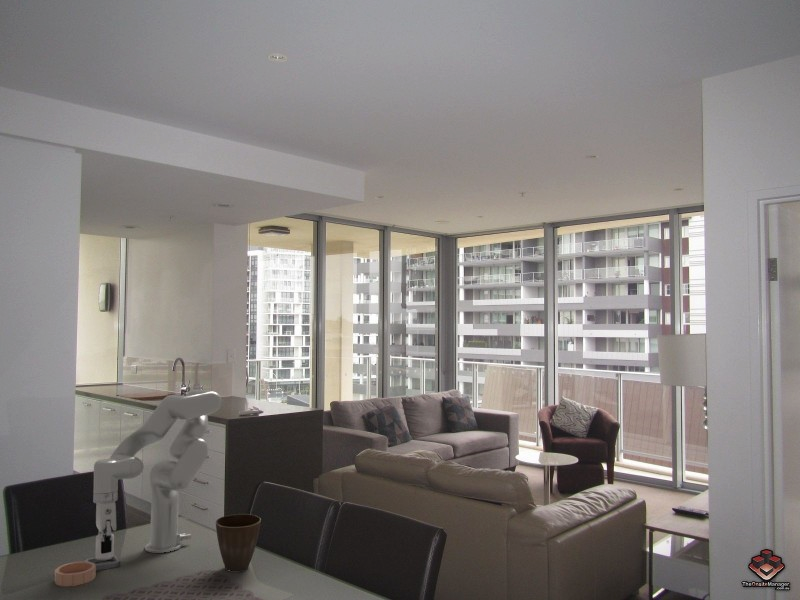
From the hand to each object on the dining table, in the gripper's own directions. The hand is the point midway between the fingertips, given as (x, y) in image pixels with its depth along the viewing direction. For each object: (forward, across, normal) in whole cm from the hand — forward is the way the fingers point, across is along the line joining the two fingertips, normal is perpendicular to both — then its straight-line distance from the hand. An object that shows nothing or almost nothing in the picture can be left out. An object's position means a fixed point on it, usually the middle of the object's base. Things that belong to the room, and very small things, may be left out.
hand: (104, 549), depth 216 cm
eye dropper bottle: (+3, 0, 0) cm, 3 cm away
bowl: (+5, -9, +10) cm, 14 cm away
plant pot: (+6, -28, -36) cm, 46 cm away
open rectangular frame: (+5, 0, +1) cm, 5 cm away
